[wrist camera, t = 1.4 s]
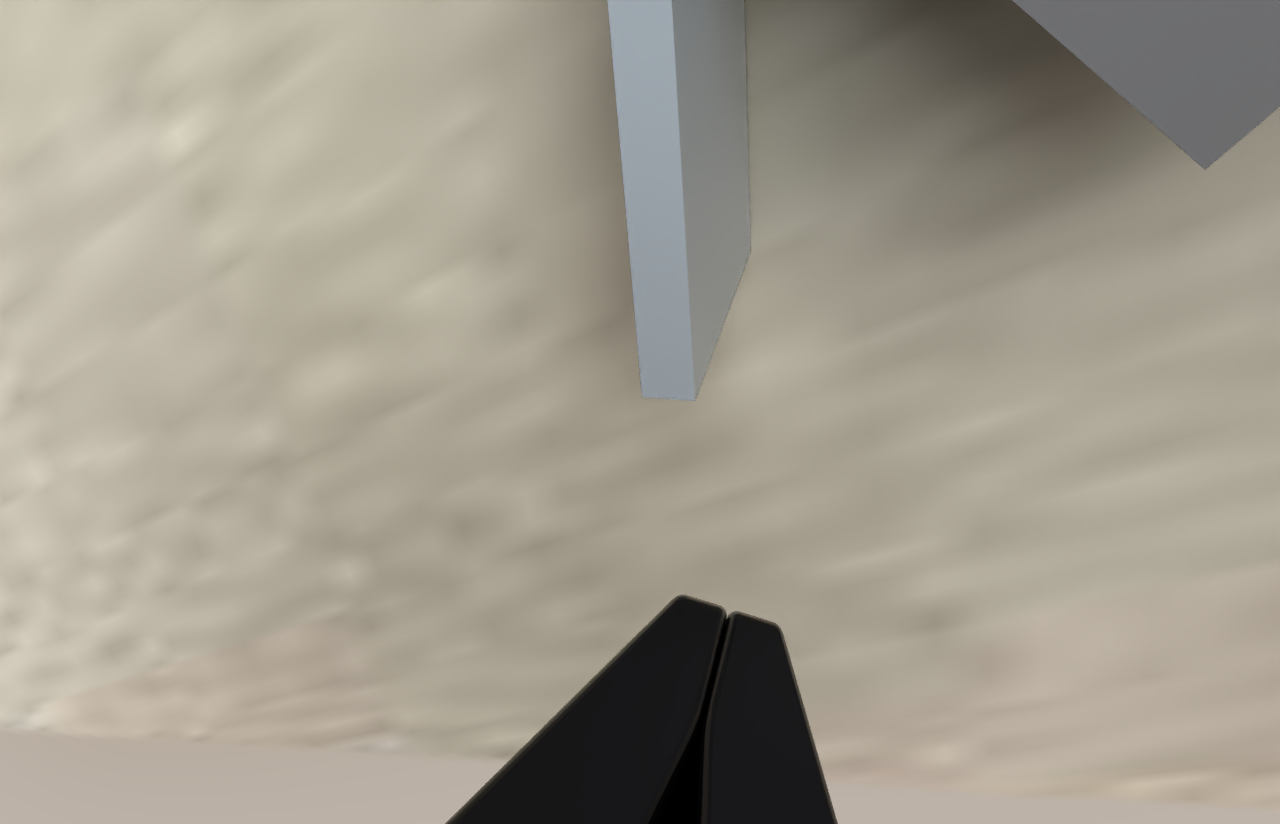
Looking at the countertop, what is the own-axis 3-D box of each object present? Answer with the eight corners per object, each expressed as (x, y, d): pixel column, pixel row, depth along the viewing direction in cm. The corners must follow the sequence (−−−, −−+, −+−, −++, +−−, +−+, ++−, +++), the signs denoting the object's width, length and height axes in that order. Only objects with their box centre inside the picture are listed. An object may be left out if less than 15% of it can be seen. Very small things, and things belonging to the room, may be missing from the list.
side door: (740, -320, 17) (657, -289, 13) (754, 247, 22) (697, 405, 18) (678, -315, 17) (575, -283, 13) (705, 245, 22) (637, 400, 18)
